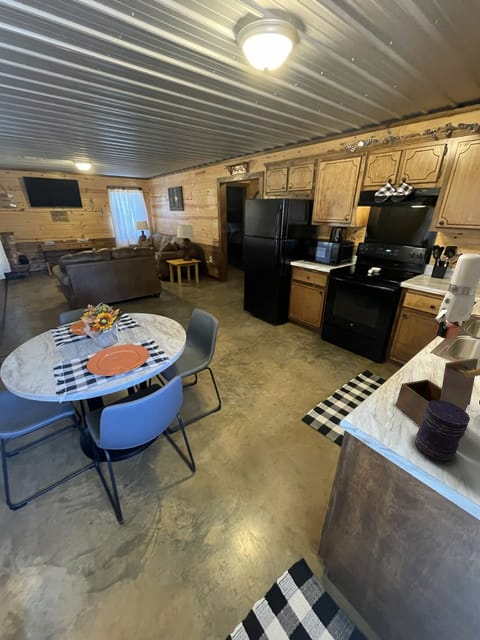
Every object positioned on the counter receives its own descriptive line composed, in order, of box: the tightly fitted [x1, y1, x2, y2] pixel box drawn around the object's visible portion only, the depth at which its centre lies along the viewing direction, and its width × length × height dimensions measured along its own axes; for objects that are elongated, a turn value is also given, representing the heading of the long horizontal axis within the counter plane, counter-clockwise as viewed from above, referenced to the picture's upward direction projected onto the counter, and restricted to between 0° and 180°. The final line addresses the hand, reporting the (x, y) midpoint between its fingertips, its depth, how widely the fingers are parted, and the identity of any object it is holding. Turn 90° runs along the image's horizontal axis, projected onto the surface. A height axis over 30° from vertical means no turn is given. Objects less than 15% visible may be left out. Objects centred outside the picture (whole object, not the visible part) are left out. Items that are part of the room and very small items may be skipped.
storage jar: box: [413, 400, 471, 465], centre depth 77 cm, size 10×10×15 cm
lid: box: [440, 357, 480, 407], centre depth 79 cm, size 16×12×5 cm
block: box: [435, 322, 461, 340], centre depth 99 cm, size 5×5×5 cm
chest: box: [395, 378, 469, 427], centre depth 91 cm, size 15×12×10 cm
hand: (446, 335), depth 100 cm, fingers closed on block, 4 cm apart
